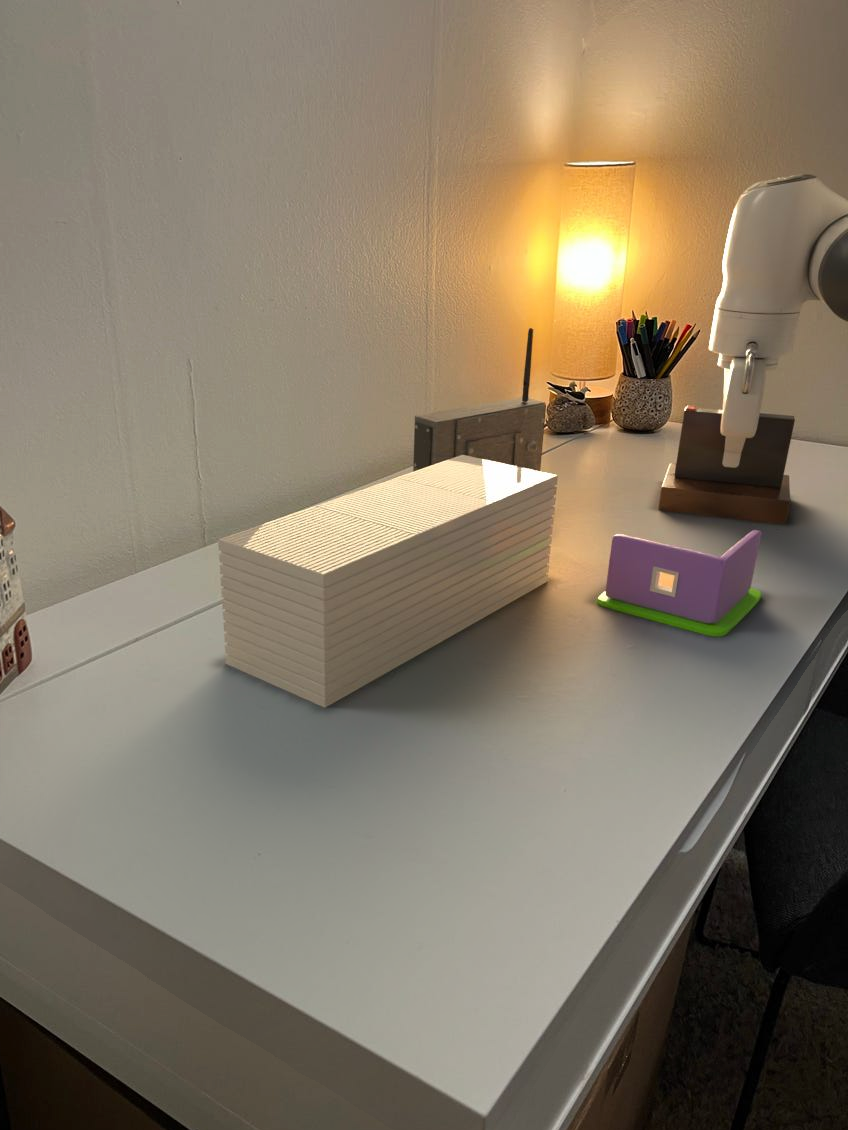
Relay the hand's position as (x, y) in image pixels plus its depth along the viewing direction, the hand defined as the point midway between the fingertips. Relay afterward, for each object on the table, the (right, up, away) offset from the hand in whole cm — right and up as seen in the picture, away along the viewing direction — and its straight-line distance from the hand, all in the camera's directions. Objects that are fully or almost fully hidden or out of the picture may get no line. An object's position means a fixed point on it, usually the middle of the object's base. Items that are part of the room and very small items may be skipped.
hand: (730, 458), depth 113 cm
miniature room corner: (-14, -18, -24) cm, 33 cm away
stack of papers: (-40, -20, -28) cm, 53 cm away
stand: (0, -5, +3) cm, 6 cm away
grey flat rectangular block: (0, -2, +1) cm, 3 cm away
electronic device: (-29, -6, +1) cm, 30 cm away
